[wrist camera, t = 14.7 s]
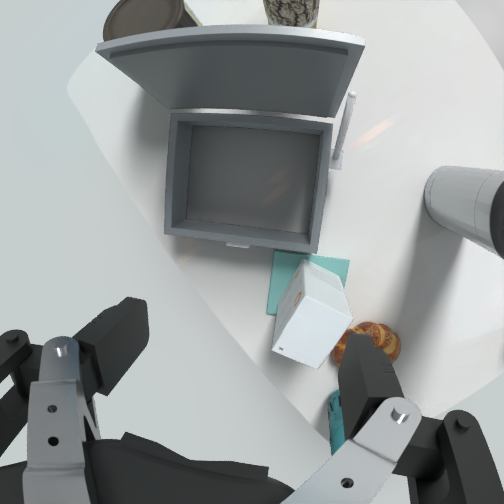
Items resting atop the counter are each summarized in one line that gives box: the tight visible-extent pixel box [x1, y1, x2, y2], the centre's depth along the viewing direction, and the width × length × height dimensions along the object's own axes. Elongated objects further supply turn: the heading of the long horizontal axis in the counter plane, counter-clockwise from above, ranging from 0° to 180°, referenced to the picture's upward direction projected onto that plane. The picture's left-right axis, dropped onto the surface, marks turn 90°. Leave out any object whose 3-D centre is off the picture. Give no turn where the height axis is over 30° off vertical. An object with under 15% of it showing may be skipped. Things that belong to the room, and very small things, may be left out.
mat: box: [267, 250, 350, 314], centre depth 44 cm, size 11×10×1 cm
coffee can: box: [103, 0, 203, 42], centre depth 30 cm, size 10×10×14 cm
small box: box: [272, 258, 354, 369], centre depth 37 cm, size 8×6×13 cm
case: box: [164, 91, 357, 254], centre depth 34 cm, size 22×19×14 cm
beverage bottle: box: [328, 390, 345, 456], centre depth 40 cm, size 6×7×20 cm
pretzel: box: [332, 322, 401, 366], centre depth 44 cm, size 12×11×4 cm
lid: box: [95, 25, 365, 118], centre depth 24 cm, size 20×16×1 cm
